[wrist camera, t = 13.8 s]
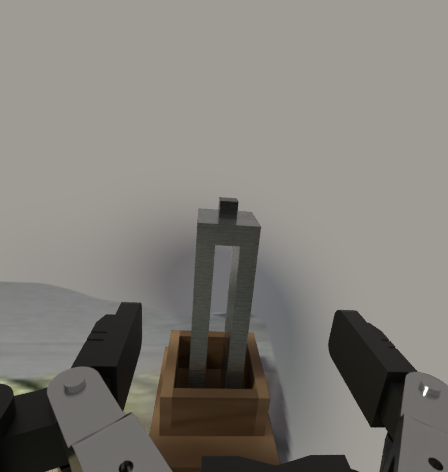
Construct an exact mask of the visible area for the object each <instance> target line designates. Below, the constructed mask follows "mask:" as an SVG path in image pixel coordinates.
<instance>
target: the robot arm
mask: <svg viewBox="0 0 448 472" xmlns="http://www.w3.org/2000/svg"><path fill="white" fill-rule="evenodd" d="M141 343H142V305H141V303H134V302H122V303H121V304H120V306H119V308H118V310H117V313H116V315H108V314H106V315H105V316H104V317H102V318H101V319H100V320H99V321H97V322H96V324H95V326H94V327H93V329H92V331H91V333H90V335H89V336H88V338H87V341H86V342H85V344H84V345H83V347H82V349H81V351H80V353H79V354H78V356H77V358H76V360H75V362H74V363H73V365H72V367H71V369H68V370H66V371H63V372H62V373H60V374H58V375H57V376H56V377H55V378H54V379H53V380H52V381H51V382H50V384H49V385H48V387H47V388H45V389H42V390H38V391H34V392H30V393H25V394H21V395H16V396H14V394H13V390H12V389H11V387H9V386H7V385H5V384H0V472H46V471H49V470H52V469H55V468H57V469H58V472H172V470H171V469H170V467H169V466H168V464H167V463H166V461H165V460H164V458H163V456H162V455H161V453H160V452H159V450H158V449H157V447H156V446H155V444H154V443H153V441H152V440H151V438H150V437H149V435H148V433H147V432H146V430H145V429H144V427H143V426H142V424H141V423H140V421H139V420H138V418H137V417H136V416H135V415H134V414H133V413H129V414H127V415H125V414H124V413H123V410H124V407H125V403H126V400H127V396H128V393H129V389H130V386H131V382H132V379H133V375H134V372H135V368H136V365H137V361H138V357H139V354H140V350H141ZM328 346H329V353H330V356H331V358H332V360H333V362H334V363H335V365H336V367H337V368H338V370H339V372H340V373H341V376H342V377H343V379H344V381H345V383H346V384H347V386H348V388H349V390H350V391H351V393H352V395H353V397H354V399H355V400H356V402H357V404H358V406H359V407H360V409H361V411H362V412H363V414H364V416H365V418H366V420H367V421H368V423H369V425H370V427H385V428H386V429H387V431H388V433H387V435H386V438H385V444H384V449H383V455H382V461H381V467H380V472H448V386H447V385H446V384H445V383H444V382H442V381H440V380H439V379H437V378H435V377H433V376H431V375H428V374H425V373H421V372H417V370H415V368H414V367H413V366H412V365H411V364H410V363H409V362H408V360H407V359H406V358H405V357H404V356H403V355H402V354H401V353H400V352H399V350H398V349H396V348H395V346H394V345H393V344H392V343H391V341H389V339H388V338H387V337H386V336H385V335H384V334H383V332H382V331H380V330H379V329H377V328H376V327H375V326H373V325H371V324H370V323H367V322H366V321H365V320H364V319H363V317H362V316H361V315H360V314H359V313H358V312H357V311H354V310H337V311H336V312H335V315H334V320H333V324H332V328H331V333H330V337H329V343H328ZM195 472H358V471H356V470H353V469H351V468H350V466H349V464H348V462H347V460H346V457H345V455H310V456H306V457H303V458H300V459H297V460H294V461H290V462H287V463H284V464H281V465H272V464H268V463H264V462H260V461H256V460H252V459H248V458H244V457H240V456H202V458H201V470H198V471H195Z"/></svg>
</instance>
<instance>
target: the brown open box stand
mask: <svg viewBox="0 0 448 472" xmlns="http://www.w3.org/2000/svg"><path fill="white" fill-rule="evenodd" d="M224 333H225V332H213V331H209V333H208V346H207V360H206V373H205V386H204V389H202V388H188V383H189V365H190V347H191V331H180V330H171V335H170V341H169V347H165V352H164V358H163V363H162V369H161V374H160V380H159V385H158V391H157V396H156V402H155V407H154V413H153V418H152V424H151V429H150V435H149V437H150V438H151V440H152V441H153V443H154V444H155V446H156V447H157V449H158V450H159V452H160V453H161V455H162V456H163V458H164V460H165V461H166V463H167V464H168V466H169V467H170V469H171V470H172V472H195V471H198V470H201V458H202V456H240V457H244V458H248V459H252V460H256V461H260V462H264V463H268V464H272V465H280V461H279V457H278V453H277V448H276V444H275V440H274V436H273V431H272V427H271V423H270V419H269V414H268V409H269V403H270V396H269V392H268V388H267V384H266V380H265V376H264V372H263V368H262V364H261V360H260V356H259V352H258V348H257V345H256V341H255V337H254V333H248V338H247V347H246V355H245V363H244V372H243V380H242V388H241V389H221V381H220V375H221V365H222V354H223V343H224Z"/></svg>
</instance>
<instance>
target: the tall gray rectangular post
mask: <svg viewBox="0 0 448 472" xmlns="http://www.w3.org/2000/svg"><path fill="white" fill-rule="evenodd" d="M260 230H261V226H260V225H259V223H258V221H257V220H256V218H255V216H254V215H253V213H252V212H245V211H238V200H237V199H236V198H221V197H220V198H219V209H218V210H213V209H198V223H197V239H196V257H195V276H194V293H193V294H194V295H193V311H192V329H191V347H190V365H189V383H188V388H202V389H204V386H205V373H206V360H207V346H208V333H209V320H210V306H211V293H212V279H213V266H214V253H215V245H223V246H233V247H232V258H231V268H230V279H229V290H228V300H227V311H226V322H225V333H224V343H223V354H222V365H221V375H220V381H221V389H241V388H242V380H243V372H244V363H245V355H246V347H247V338H248V330H249V322H250V314H251V305H252V297H253V289H254V280H255V272H256V264H257V255H258V247H259V238H260Z"/></svg>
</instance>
